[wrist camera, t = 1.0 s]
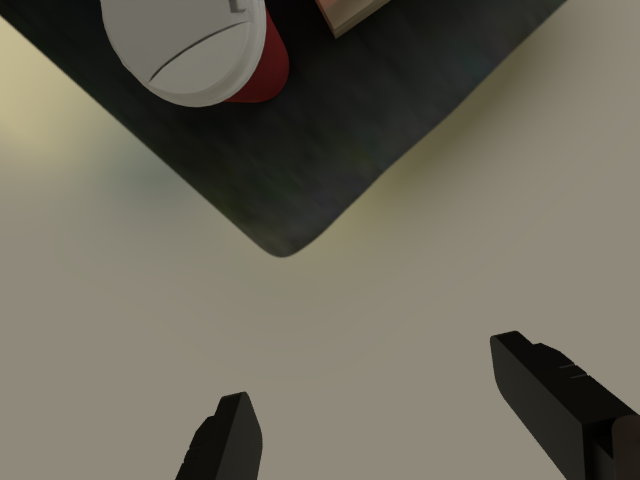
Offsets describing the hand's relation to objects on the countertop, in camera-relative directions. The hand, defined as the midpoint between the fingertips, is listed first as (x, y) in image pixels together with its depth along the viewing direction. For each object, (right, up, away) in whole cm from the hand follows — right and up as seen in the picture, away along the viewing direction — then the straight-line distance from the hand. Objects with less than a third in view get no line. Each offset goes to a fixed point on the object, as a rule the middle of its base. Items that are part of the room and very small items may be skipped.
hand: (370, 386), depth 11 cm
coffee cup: (-7, +20, +19) cm, 29 cm away
